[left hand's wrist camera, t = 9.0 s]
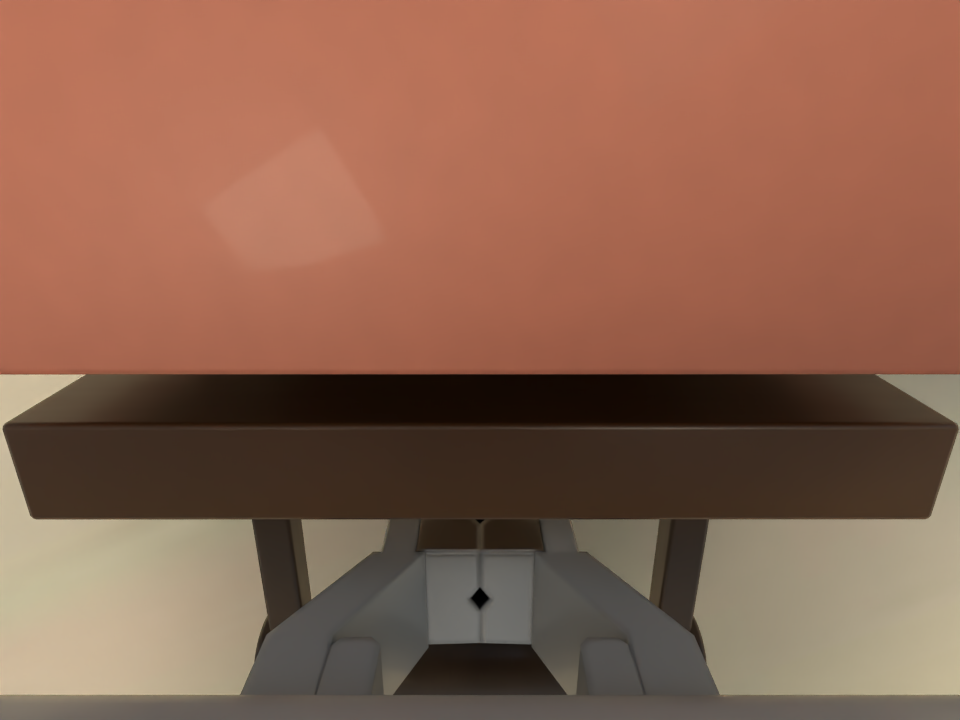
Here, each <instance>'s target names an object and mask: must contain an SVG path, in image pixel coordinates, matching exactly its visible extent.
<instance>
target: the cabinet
mask: <svg viewBox="0 0 960 720" xmlns="http://www.w3.org/2000/svg"><path fill="white" fill-rule="evenodd" d="M0 374H960V0H0Z"/></svg>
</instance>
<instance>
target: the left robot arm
mask: <svg viewBox="0 0 960 720" xmlns="http://www.w3.org/2000/svg"><path fill="white" fill-rule="evenodd" d="M459 643H500V644H532V648H533V649H534V651H535V652H536V653H537V655H538V656H539V657H540V659H541V660H542V661H543V663H544V664H545V665H546V667H547V668H548V669H549V671H550V672H551V673H552V675H553V676H554V677H555V679H556V680H557V681H558V683H559V684H560V685H561V687H562V688H563V689H564V691H565V692H566V693H567V695H393V694H394V693H395V691H396V690H397V689H398V687H399V686H400V685H401V683H402V682H403V681H404V679H405V678H406V677H407V675H408V674H409V673H410V671H411V670H412V669H413V667H414V666H415V665H416V663H417V662H418V661H419V659H420V658H421V657H422V655H423V654H424V653H425V651H426V650H427V649H428V644H459ZM0 720H960V695H720V694H719V692H718V690H717V687H716V685H715V683H714V680H713V678H712V676H711V673H710V671H709V669H708V666H707V664H706V662H705V659H704V657H703V655H702V652H701V650H700V648H699V646H698V643H697V641H696V639H695V636H694V635H693V634H692V633H690V632H689V631H688V630H686V629H685V628H684V627H683V626H681V625H680V624H679V623H677V622H676V621H675V620H674V619H672V618H671V617H670V616H668V615H667V614H666V613H665V612H663V611H662V610H661V609H659V608H658V607H657V606H656V605H654V604H653V603H652V602H651V601H649V600H648V599H647V598H645V597H644V596H643V595H642V594H640V593H639V592H638V591H636V590H635V589H634V588H633V587H631V586H630V585H629V584H627V583H626V582H625V581H624V580H622V579H621V578H620V577H618V576H617V575H616V574H615V573H613V572H612V571H611V570H609V569H608V568H607V567H606V566H604V565H603V564H602V563H600V562H599V561H598V560H597V559H595V558H594V557H593V556H591V555H590V554H589V553H588V552H579V551H578V547H577V543H576V539H575V535H574V531H573V527H572V523H571V519H389V522H388V526H387V530H386V535H385V539H384V543H383V547H382V551H381V552H372V553H371V554H370V555H369V556H367V557H366V558H365V559H363V560H362V561H361V562H360V563H358V564H357V565H356V566H354V567H353V568H352V569H351V570H349V571H348V572H347V573H345V574H344V575H343V576H341V577H340V578H339V579H338V580H336V581H335V582H334V583H332V584H331V585H330V586H329V587H327V588H326V589H325V590H323V591H322V592H321V593H320V594H318V595H317V596H316V597H314V598H313V599H312V600H311V601H309V602H308V603H307V604H305V605H304V606H303V607H301V608H300V609H299V610H298V611H296V612H295V613H294V614H292V615H291V616H290V617H289V618H287V619H286V620H285V621H283V622H282V623H281V624H280V625H278V626H277V627H276V628H274V629H273V630H272V631H271V632H269V633H268V634H267V635H266V637H265V639H264V642H263V644H262V646H261V648H260V651H259V653H258V655H257V658H256V660H255V662H254V664H253V667H252V669H251V671H250V674H249V676H248V678H247V680H246V683H245V685H244V687H243V690H242V692H241V694H240V695H0Z"/></svg>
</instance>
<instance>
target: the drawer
mask: <svg viewBox="0 0 960 720" xmlns="http://www.w3.org/2000/svg"><path fill="white" fill-rule="evenodd" d="M958 430H959V429H958V425H957V424H956V423H955V422H953V421H951V420H950V419H948V418H946V417H945V416H943V415H941V414H940V413H938V412H936V411H935V410H933V409H931V408H930V407H928V406H927V405H925V404H923V403H922V402H920V401H918V400H917V399H915V398H913V397H912V396H910V395H908V394H907V393H905V392H903V391H902V390H900V389H898V388H897V387H895V386H893V385H892V384H890V383H888V382H887V381H885V380H883V379H882V378H880V377H878V376H877V375H875V374H86V375H85V376H83V377H81V378H80V379H78V380H76V381H75V382H73V383H71V384H70V385H68V386H66V387H65V388H63V389H61V390H60V391H58V392H56V393H55V394H53V395H51V396H50V397H48V398H46V399H45V400H43V401H41V402H40V403H38V404H37V405H35V406H33V407H32V408H30V409H28V410H27V411H25V412H23V413H22V414H20V415H18V416H17V417H15V418H13V419H12V420H10V421H8V422H7V423H5V424H4V426H3V432H4V435H5V438H6V441H7V445H8V448H9V451H10V454H11V457H12V460H13V463H14V466H15V469H16V472H17V476H18V479H19V482H20V485H21V488H22V491H23V494H24V497H25V500H26V503H27V507H28V510H29V513H30V516H31V517H32V518H34V519H252V523H253V529H254V535H255V541H256V547H257V554H258V560H259V566H260V572H261V578H262V584H263V590H264V596H265V602H266V608H267V614H268V616H267V618H266V620H265V622H264V624H263V627H262V630H261V633H260V636H259V639H258V643H257V648H256V654H255V660H256V658H257V655H258V653H259V651H260V648H261V646H262V644H263V642H264V639H265V637H266V635H267V634H268V633H269V632H271V631H272V630H273V629H274V628H276V627H277V626H278V625H280V624H281V623H282V622H283V621H285V620H286V619H287V618H289V617H290V616H291V615H292V614H294V613H295V612H296V611H298V610H299V609H300V608H301V607H303V606H304V605H305V604H307V603H308V602H309V601H311V592H310V584H309V576H308V569H307V561H306V553H305V545H304V538H303V530H302V522H301V519H660V521H659V528H658V536H657V544H656V552H655V559H654V567H653V575H652V583H651V590H650V598H649V601H651V602H652V603H653V604H654V605H656V606H657V607H658V608H659V609H661V610H662V611H663V612H665V613H666V614H667V615H668V616H670V617H671V618H672V619H674V620H675V621H676V622H677V623H679V624H680V625H681V626H683V627H684V628H685V629H686V630H688V631H689V632H690V633H692V634H693V635H694V636H695V639H696V641H697V643H698V646H699V648H700V650H701V652H702V655H703V657H704V659H705V662H706V655H705V649H704V644H703V640H702V636H701V633H700V630H699V627H698V625H697V622H696V620H695V618H694V616H693V613H694V607H695V601H696V595H697V589H698V583H699V577H700V571H701V565H702V559H703V553H704V547H705V541H706V535H707V528H708V522H709V519H927V518H929V517H930V516H931V513H932V510H933V507H934V504H935V501H936V498H937V495H938V492H939V489H940V486H941V483H942V479H943V476H944V473H945V470H946V467H947V464H948V461H949V458H950V455H951V452H952V449H953V445H954V442H955V439H956V436H957V433H958ZM254 662H255V661H254ZM706 664H707V662H706ZM393 695H567V693H566V692H565V691H564V689H563V688H562V687H561V685H560V684H559V683H558V681H557V680H556V679H555V677H554V676H553V675H552V673H551V672H550V671H549V669H548V668H547V667H546V665H545V664H544V663H543V661H542V660H541V659H540V657H539V656H538V655H537V653H536V652H535V651H534V649H533V648H532V644H500V643H459V644H428V649H427V650H426V651H425V653H424V654H423V655H422V657H421V658H420V659H419V661H418V662H417V663H416V665H415V666H414V667H413V669H412V670H411V671H410V673H409V674H408V675H407V677H406V678H405V679H404V681H403V682H402V683H401V685H400V686H399V687H398V689H397V690H396V691H395V693H394V694H393Z"/></svg>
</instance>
